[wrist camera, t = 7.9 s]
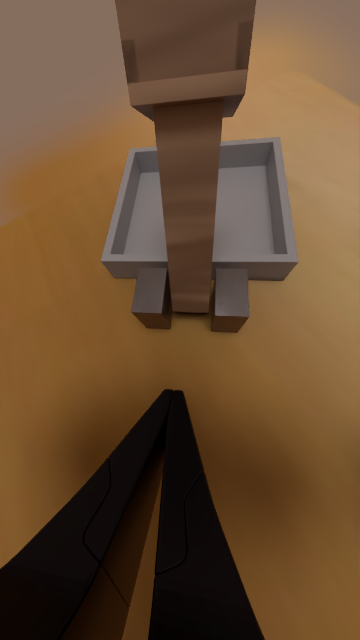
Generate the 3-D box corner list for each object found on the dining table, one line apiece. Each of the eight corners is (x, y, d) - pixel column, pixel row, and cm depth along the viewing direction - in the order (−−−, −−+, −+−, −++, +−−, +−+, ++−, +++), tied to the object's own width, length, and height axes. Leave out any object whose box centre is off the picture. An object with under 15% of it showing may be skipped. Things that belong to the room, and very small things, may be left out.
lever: (217, 325, 16) (260, -39, 6) (163, 322, 16) (113, -11, 6) (215, 292, 20) (239, 42, 9) (171, 291, 20) (150, 55, 10)
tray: (283, 280, 18) (298, 261, 15) (114, 277, 20) (100, 261, 18) (270, 166, 24) (279, 137, 21) (137, 174, 26) (130, 148, 23)
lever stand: (237, 332, 17) (249, 316, 13) (146, 327, 18) (131, 311, 14) (236, 294, 18) (247, 268, 14) (152, 292, 19) (138, 267, 15)
